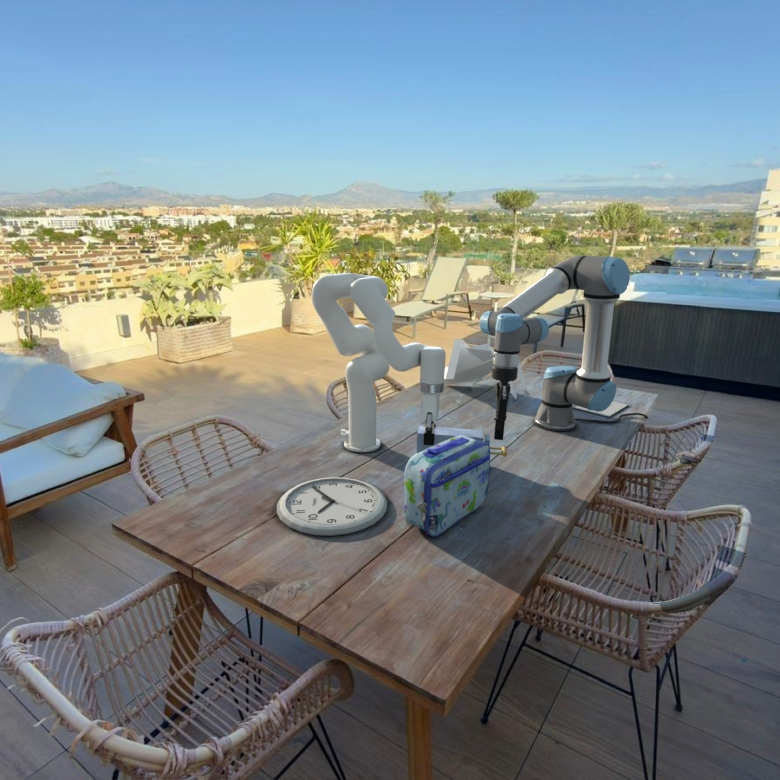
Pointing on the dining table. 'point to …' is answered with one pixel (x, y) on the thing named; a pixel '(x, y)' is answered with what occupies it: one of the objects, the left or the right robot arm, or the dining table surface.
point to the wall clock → (331, 506)
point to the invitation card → (609, 411)
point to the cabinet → (446, 435)
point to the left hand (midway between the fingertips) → (429, 439)
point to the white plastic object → (474, 365)
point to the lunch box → (446, 483)
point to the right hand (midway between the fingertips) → (498, 438)
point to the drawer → (504, 451)
